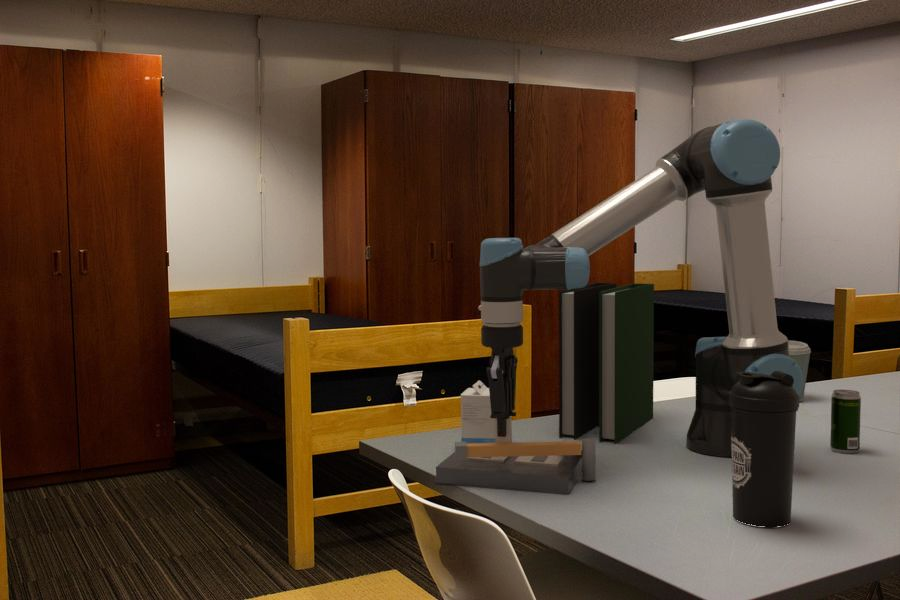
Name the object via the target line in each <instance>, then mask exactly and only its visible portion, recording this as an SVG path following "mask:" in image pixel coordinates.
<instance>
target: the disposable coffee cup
mask: <svg viewBox="0 0 900 600" xmlns="http://www.w3.org/2000/svg"><path fill="white" fill-rule="evenodd" d="M788 348H789V357H791V358H792V359H793V360H794V361H795V362H796V363H797V364H798V365H799V367H800V369H801V371H802V375H803V387H802V391H801V393H800V395H799V403H800V402H802V401H803V399H804V397H805V391H806V383H807V375H808V370H809V363H810V357H811V353H812V351H811V348H810V347H809V345H808V343H806V342H803V341H797V340H788Z"/></svg>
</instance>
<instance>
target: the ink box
mask: <svg viewBox="0 0 900 600" xmlns="http://www.w3.org/2000/svg"><path fill="white" fill-rule="evenodd" d="M476 381H477V382H475V383H474V384H472V387H468V388H466V389H465V390H464V391H463V392H462V393H460V414H461V415H460V417H461V421H460V422H461V425H460V426H461V429H460V431H461V433H460V434H461V435H460V436H461V442H466V443H496V440H495V419H494V418H490V416H491V404H490V392H489V387H487V386H486V385H485V383H483V382H482V381H481V380H476Z"/></svg>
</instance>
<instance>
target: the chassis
mask: <svg viewBox="0 0 900 600" xmlns="http://www.w3.org/2000/svg"><path fill="white" fill-rule="evenodd" d="M466 444H470V443H466ZM580 476H582V450H581V455H556V456H509V457H467V459H463V460H456V458H455V451H454V452H452V453H450V455H448V457H446V458H445V459H444V460H443V461H442V462H440V463H439V464H438V465H437V466H435V483H436V484H441V485H453V486H465V487H473V488H474V487H476V488H477V487H478V488H488V489H489V488H490V489H500V490H513V491H524V492H525V491H526V492H534V493H535V492H536V493H548V494H558V495H559V494H560V495H570V493H571V492H572V490H573V488H574V486H575V485H576V483H577V481H578V479H579V478H580Z"/></svg>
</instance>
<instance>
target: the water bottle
mask: <svg viewBox="0 0 900 600" xmlns="http://www.w3.org/2000/svg"><path fill="white" fill-rule="evenodd" d="M736 376H738V377H740V381H739V382H737V383H736V384H735V385H734V386H733V388H732V390H731V391H730V392H729V406H730V407H731V432H732V436H731V452H732V457H731V484H732V487H731V488H732V518H733V517H734V518H735V519H736V520H738V521H740V522H743V523H746V524H750V525H751V524H752V525H756V526H765V527H777V526H784V525H787V524H789V523H790V524H791V521H792V520H791V519H792V501H793V483H794V482H793V480H794V463H795V446H796V445H795V444H796V425H797V411H799V407H800V402H799V395H798V394H797V393H796V390H795V389H794V388H793V383H794V379H793V377H792V376H791V375H789V374H787V373H784V372H781V371H774V372H773V373H772V374H771V375H765V374H759V373H752V372H737V373H736ZM734 518H733V519H734ZM735 519H734V520H735ZM736 520H735V521H736ZM738 521H737V522H738ZM740 522H739V523H740ZM790 524H789V525H790ZM787 526H788V525H787Z"/></svg>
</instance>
